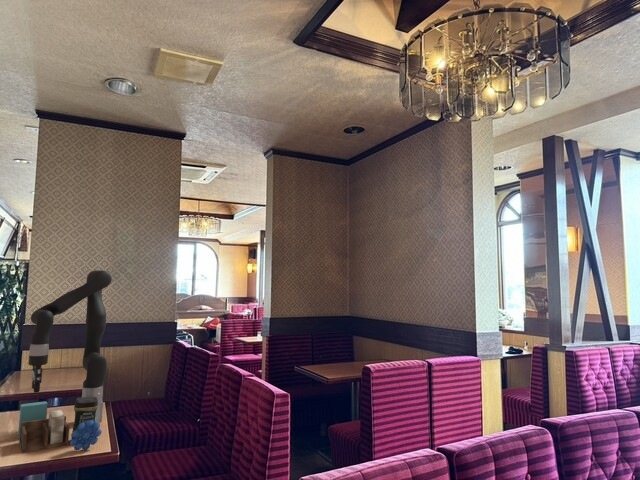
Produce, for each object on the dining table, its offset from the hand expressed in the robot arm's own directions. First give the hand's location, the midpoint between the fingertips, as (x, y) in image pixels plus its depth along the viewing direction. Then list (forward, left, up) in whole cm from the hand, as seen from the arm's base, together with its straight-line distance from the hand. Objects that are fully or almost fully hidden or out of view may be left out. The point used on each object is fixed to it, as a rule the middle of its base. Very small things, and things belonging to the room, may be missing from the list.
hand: (35, 390), depth 203 cm
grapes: (-17, +30, -20) cm, 40 cm away
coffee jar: (-18, +18, -20) cm, 33 cm away
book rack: (-4, +14, -20) cm, 25 cm away
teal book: (0, 0, -20) cm, 20 cm away
